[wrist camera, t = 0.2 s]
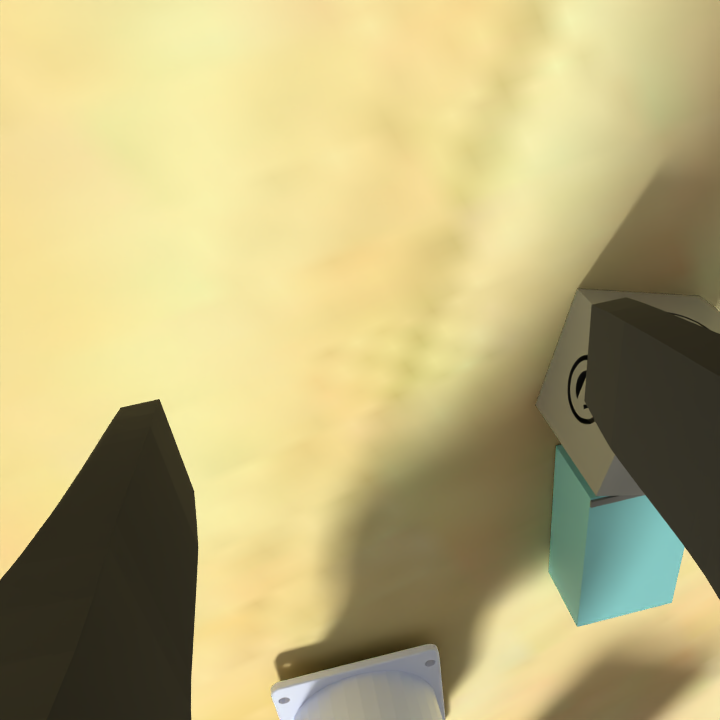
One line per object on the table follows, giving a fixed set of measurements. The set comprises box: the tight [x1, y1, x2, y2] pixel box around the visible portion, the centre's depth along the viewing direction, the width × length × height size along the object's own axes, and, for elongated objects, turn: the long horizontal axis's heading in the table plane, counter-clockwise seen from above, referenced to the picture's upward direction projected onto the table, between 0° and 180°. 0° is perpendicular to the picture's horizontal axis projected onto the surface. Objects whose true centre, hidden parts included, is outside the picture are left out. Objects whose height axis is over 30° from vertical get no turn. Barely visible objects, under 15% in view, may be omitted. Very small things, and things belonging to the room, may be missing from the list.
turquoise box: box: [549, 444, 685, 627], centre depth 29 cm, size 8×4×3 cm, turn 7°
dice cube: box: [535, 289, 720, 496], centre depth 24 cm, size 5×5×5 cm
